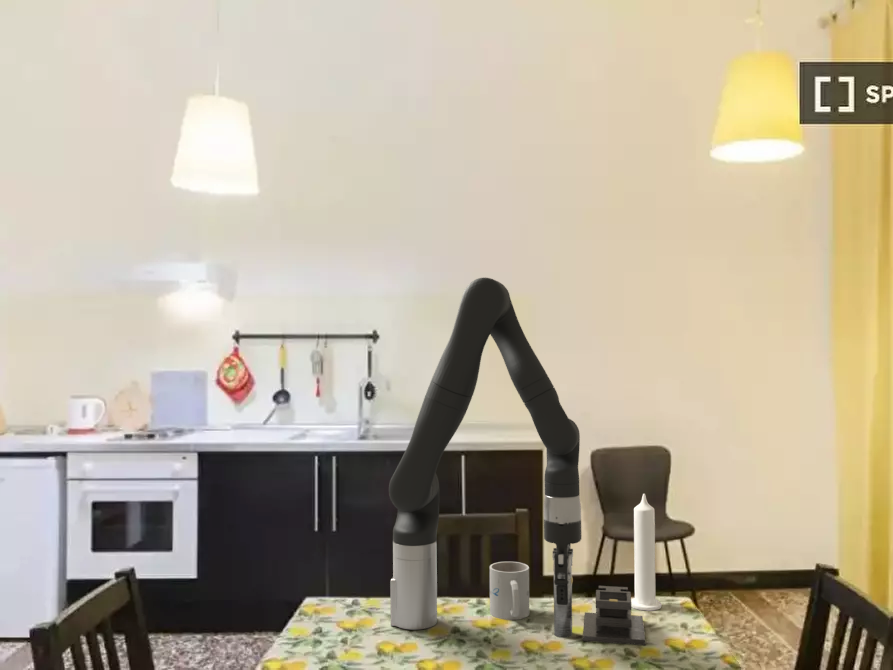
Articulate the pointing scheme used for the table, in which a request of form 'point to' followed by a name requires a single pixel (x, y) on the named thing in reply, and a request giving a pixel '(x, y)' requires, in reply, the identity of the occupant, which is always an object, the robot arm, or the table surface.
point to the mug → (509, 590)
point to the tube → (563, 611)
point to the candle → (644, 557)
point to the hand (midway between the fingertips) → (563, 597)
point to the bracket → (613, 618)
